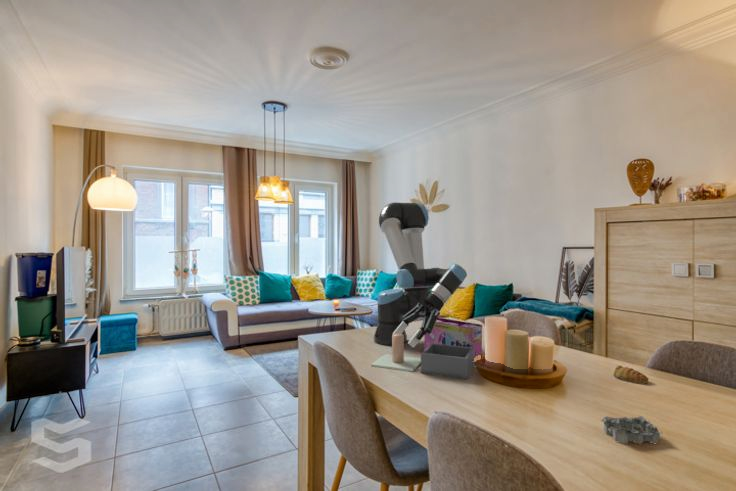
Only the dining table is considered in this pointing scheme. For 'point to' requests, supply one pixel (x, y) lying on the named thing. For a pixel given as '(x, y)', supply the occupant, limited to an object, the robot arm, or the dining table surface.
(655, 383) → the dining table surface
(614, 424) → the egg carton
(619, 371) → the pastry
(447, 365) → the tub
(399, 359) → the lid
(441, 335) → the gum box
